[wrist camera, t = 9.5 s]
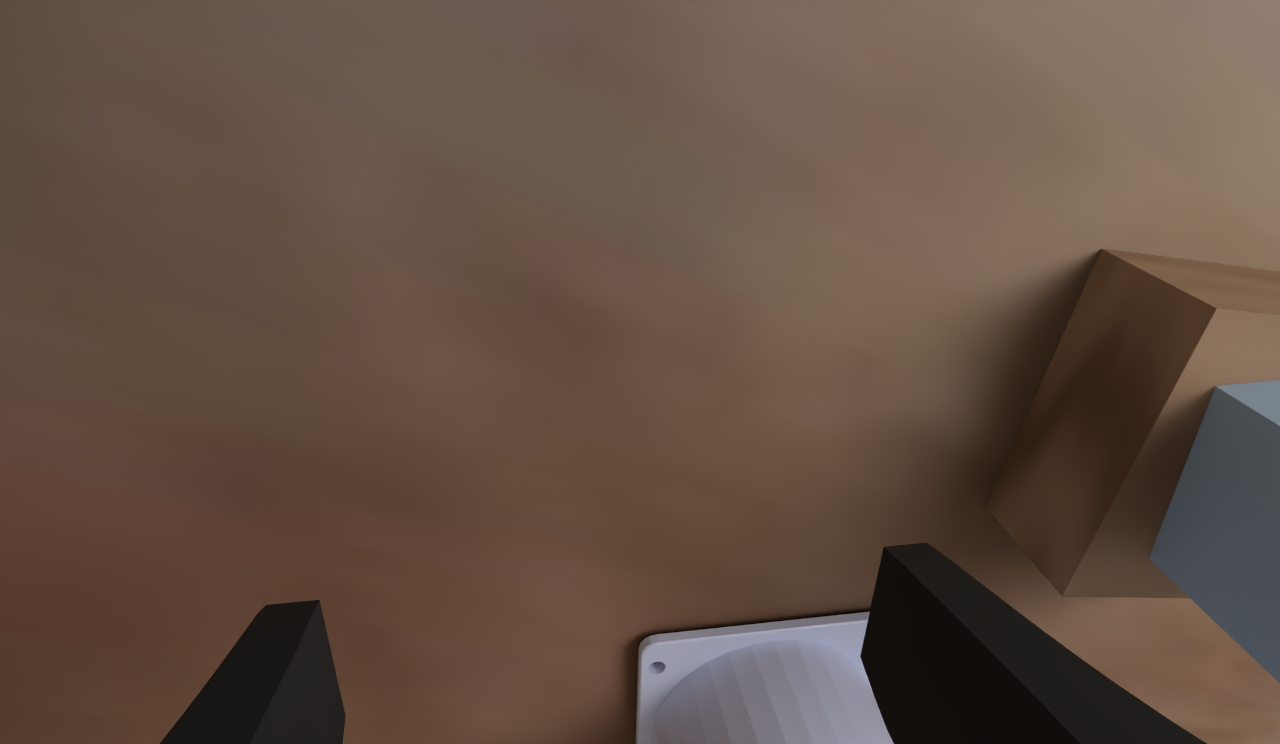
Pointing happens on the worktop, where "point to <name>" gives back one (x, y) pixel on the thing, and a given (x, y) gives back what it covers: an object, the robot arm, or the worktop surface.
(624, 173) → the worktop surface
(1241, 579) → the slate cube
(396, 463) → the worktop surface
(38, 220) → the worktop surface
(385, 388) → the worktop surface
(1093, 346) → the walnut block
